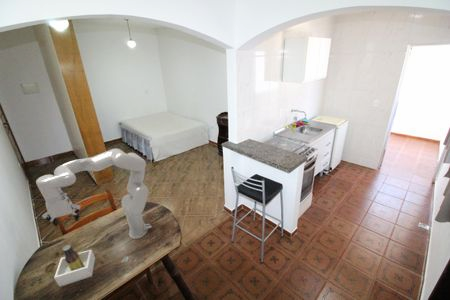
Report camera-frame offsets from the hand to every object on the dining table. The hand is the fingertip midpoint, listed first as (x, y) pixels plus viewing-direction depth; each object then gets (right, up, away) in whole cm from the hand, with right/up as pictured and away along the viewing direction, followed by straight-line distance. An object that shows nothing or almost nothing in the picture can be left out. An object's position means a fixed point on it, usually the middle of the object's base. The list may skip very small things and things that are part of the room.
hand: (67, 222), depth 118 cm
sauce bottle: (0, -32, +10) cm, 33 cm away
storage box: (-1, -33, +10) cm, 34 cm away
